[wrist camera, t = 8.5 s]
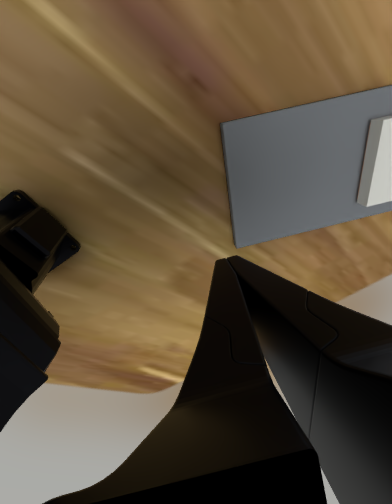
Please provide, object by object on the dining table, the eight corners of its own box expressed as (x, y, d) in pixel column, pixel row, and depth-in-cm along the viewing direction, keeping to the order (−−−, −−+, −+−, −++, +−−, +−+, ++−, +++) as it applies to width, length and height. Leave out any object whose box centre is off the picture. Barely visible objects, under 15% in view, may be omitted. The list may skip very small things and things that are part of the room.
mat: (234, 244, 24) (236, 248, 23) (219, 123, 18) (222, 123, 18) (410, 201, 25) (417, 204, 24) (448, 72, 19) (459, 70, 19)
